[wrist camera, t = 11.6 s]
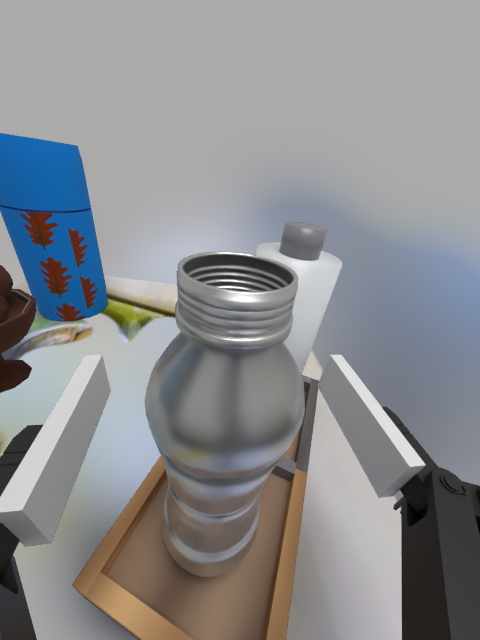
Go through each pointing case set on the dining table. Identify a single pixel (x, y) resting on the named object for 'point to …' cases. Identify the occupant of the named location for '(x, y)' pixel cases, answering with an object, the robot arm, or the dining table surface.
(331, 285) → the bottle
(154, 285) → the dining table surface
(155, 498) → the tray
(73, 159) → the thermos
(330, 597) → the dining table surface
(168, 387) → the plastic bottle
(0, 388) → the ice cream bowl
